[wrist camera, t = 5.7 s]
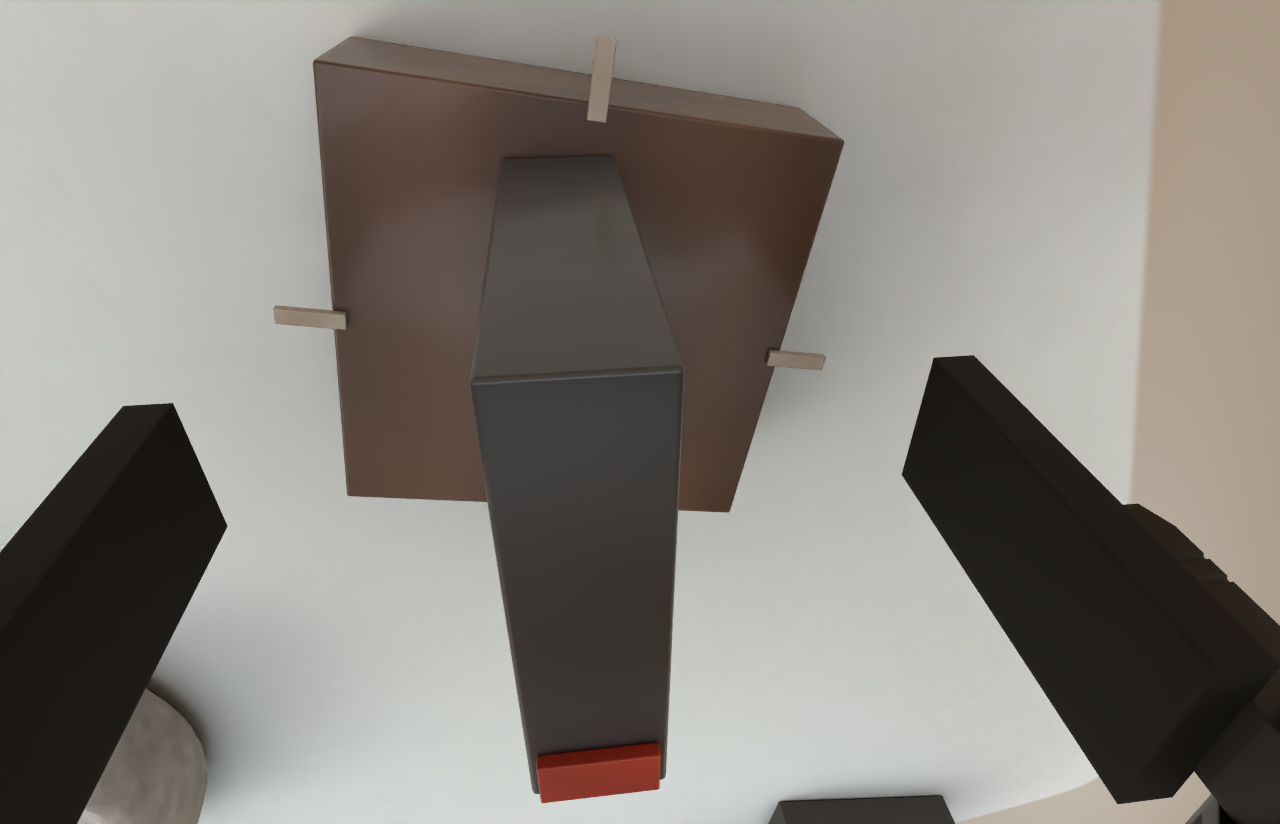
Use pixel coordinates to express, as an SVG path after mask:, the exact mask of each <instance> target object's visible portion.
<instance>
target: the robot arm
mask: <svg viewBox="0 0 1280 824" xmlns="http://www.w3.org/2000/svg"><path fill="white" fill-rule="evenodd" d="M902 476H903V477H904V479H905V480H906V482H907V483H908V485H909V487H910V488H911V490H912V491H913V493H914V494H915V496H916V497H917V499H918V500H919V502H920V503H921V505H922V506H923V508H924V509H925V511H926V512H927V514H928V516H929V517H930V519H931V520H932V522H933V523H934V525H935V526H936V528H937V529H938V531H939V532H940V534H941V535H942V537H943V538H944V540H945V542H946V543H947V545H948V546H949V548H950V549H951V551H952V552H953V554H954V555H955V557H956V558H957V560H958V561H959V563H960V564H961V566H962V567H963V569H964V571H965V572H966V574H967V575H968V577H969V578H970V580H971V581H972V583H973V584H974V586H975V587H976V589H977V590H978V592H979V593H980V595H981V596H982V598H983V600H984V601H985V603H986V604H987V606H988V607H989V609H990V610H991V612H992V613H993V615H994V616H995V618H996V619H997V621H998V622H999V624H1000V625H1001V627H1002V629H1003V630H1004V632H1005V633H1006V635H1007V636H1008V638H1009V639H1010V641H1011V642H1012V644H1013V645H1014V647H1015V648H1016V650H1017V651H1018V653H1019V654H1020V656H1021V658H1022V659H1023V661H1024V662H1025V664H1026V665H1027V667H1028V668H1029V670H1030V671H1031V673H1032V674H1033V676H1034V677H1035V679H1036V680H1037V682H1038V684H1039V685H1040V687H1041V688H1042V690H1043V691H1044V693H1045V694H1046V696H1047V697H1048V699H1049V700H1050V702H1051V703H1052V705H1053V706H1054V708H1055V709H1056V711H1057V713H1058V714H1059V716H1060V717H1061V719H1062V720H1063V722H1064V723H1065V725H1066V726H1067V728H1068V729H1069V731H1070V732H1071V734H1072V735H1073V737H1074V738H1075V740H1076V742H1077V743H1078V745H1079V746H1080V748H1081V749H1082V751H1083V752H1084V754H1085V755H1086V757H1087V758H1088V760H1089V761H1090V763H1091V764H1092V766H1093V767H1094V769H1095V771H1096V772H1097V774H1098V775H1099V777H1100V778H1101V780H1102V781H1103V783H1104V784H1105V786H1106V787H1107V789H1108V790H1109V792H1110V793H1111V795H1112V796H1113V798H1114V799H1115V801H1116V803H1117V804H1123V803H1131V802H1138V801H1146V800H1154V799H1161V798H1169V797H1173V796H1174V795H1175V793H1176V792H1177V791H1178V790H1179V788H1180V787H1181V786H1182V785H1183V784H1184V782H1185V781H1186V780H1187V779H1188V778H1189V776H1190V775H1191V774H1192V773H1193V772H1194V771H1195V773H1196V774H1197V775H1198V777H1199V778H1200V779H1201V781H1202V782H1203V783H1204V784H1205V786H1206V787H1207V788H1208V789H1209V791H1210V792H1211V793H1212V794H1211V795H1210V796H1209V798H1208V799H1207V800H1206V801H1205V802H1204V803H1203V804H1202V805H1201V807H1200V808H1199V809H1198V810H1197V811H1196V812H1195V813H1194V814H1193V815H1192V817H1191V818H1190V819H1189V820H1188V821H1187V822H1186V823H1185V824H1280V626H1279V625H1278V624H1277V623H1276V622H1275V621H1274V620H1273V619H1272V618H1271V617H1270V616H1269V615H1268V614H1267V613H1266V612H1265V611H1264V610H1263V609H1262V608H1260V607H1259V606H1258V605H1257V604H1256V603H1255V602H1254V601H1253V600H1252V599H1251V598H1250V597H1249V596H1248V595H1247V594H1246V593H1245V592H1244V591H1243V590H1242V589H1241V588H1239V587H1238V586H1237V585H1236V584H1235V583H1234V582H1229V581H1228V580H1227V575H1226V574H1225V573H1224V572H1223V571H1222V570H1220V568H1219V567H1218V566H1216V565H1215V564H1214V563H1213V562H1212V561H1211V560H1210V559H1205V558H1204V557H1203V554H1204V553H1203V552H1202V551H1201V550H1200V549H1199V548H1198V547H1197V546H1196V545H1194V544H1193V543H1192V542H1191V541H1190V540H1189V539H1188V538H1187V537H1186V536H1185V535H1184V534H1183V533H1182V532H1181V531H1180V530H1179V529H1178V528H1177V527H1176V526H1174V525H1172V524H1171V523H1169V522H1167V521H1166V520H1164V519H1163V518H1161V517H1159V516H1158V515H1156V514H1154V513H1153V512H1151V511H1149V510H1148V509H1146V508H1144V507H1142V506H1141V505H1139V504H1128V505H1122V504H1121V503H1120V502H1119V501H1118V500H1117V499H1116V498H1115V497H1114V496H1113V495H1112V494H1111V493H1110V492H1109V491H1108V490H1107V489H1106V488H1105V487H1104V486H1103V485H1102V484H1101V483H1100V482H1099V481H1098V480H1097V479H1096V478H1095V477H1094V476H1093V475H1092V474H1091V473H1090V472H1089V471H1088V470H1087V469H1086V468H1085V467H1084V466H1083V465H1082V464H1081V463H1080V462H1079V461H1078V460H1077V459H1076V458H1075V457H1074V456H1073V455H1072V454H1071V453H1070V452H1069V451H1068V450H1067V449H1066V448H1065V447H1064V446H1063V445H1062V444H1061V443H1060V442H1059V441H1058V440H1057V439H1056V438H1055V437H1054V436H1053V435H1052V434H1051V433H1050V432H1049V431H1048V429H1047V428H1046V427H1045V426H1044V425H1043V424H1042V423H1041V422H1040V421H1039V420H1038V419H1037V418H1036V417H1035V416H1034V415H1033V414H1032V413H1031V412H1030V411H1029V410H1028V409H1027V408H1026V407H1025V406H1024V405H1023V404H1022V403H1021V402H1020V401H1019V400H1018V399H1017V398H1016V397H1015V396H1014V395H1013V394H1012V393H1011V392H1010V391H1009V390H1008V389H1007V388H1006V387H1005V386H1004V385H1003V384H1002V383H1001V382H1000V381H999V380H998V379H997V378H996V377H995V376H994V375H993V374H992V373H991V372H990V371H989V370H988V369H987V368H986V367H985V366H984V365H983V364H982V363H981V362H980V361H979V360H978V359H977V358H976V357H975V356H974V355H972V356H955V357H938V358H934V359H933V363H932V366H931V370H930V374H929V377H928V381H927V385H926V388H925V392H924V396H923V399H922V403H921V406H920V410H919V414H918V417H917V421H916V425H915V428H914V432H913V436H912V439H911V443H910V446H909V450H908V454H907V457H906V461H905V465H904V468H903V472H902ZM226 528H227V524H226V522H225V519H224V517H223V515H222V513H221V510H220V508H219V506H218V504H217V501H216V499H215V497H214V495H213V492H212V490H211V488H210V486H209V483H208V481H207V479H206V477H205V474H204V472H203V470H202V468H201V465H200V463H199V461H198V459H197V456H196V454H195V452H194V450H193V447H192V445H191V443H190V441H189V438H188V436H187V434H186V432H185V429H184V427H183V425H182V422H181V420H180V418H179V416H178V413H177V411H176V409H175V407H174V404H173V403H168V404H151V405H134V406H123V407H122V408H121V409H120V411H119V412H118V413H117V414H116V415H115V416H114V418H113V419H112V420H111V421H110V422H109V424H108V425H107V426H106V427H105V428H104V430H103V431H102V432H101V433H100V434H99V435H98V437H97V438H96V439H95V440H94V441H93V443H92V444H91V445H90V446H89V447H88V449H87V450H86V451H85V452H84V453H83V454H82V456H81V457H80V458H79V459H78V460H77V462H76V463H75V464H74V465H73V466H72V468H71V469H70V470H69V471H68V472H67V473H66V475H65V476H64V477H63V478H62V479H61V481H60V482H59V483H58V484H57V485H56V487H55V488H54V489H53V490H52V491H51V492H50V494H49V495H48V496H47V497H46V498H45V500H44V501H43V502H42V503H41V504H40V506H39V507H38V508H37V509H36V510H35V512H34V513H33V514H32V515H31V516H30V517H29V519H28V520H27V521H26V522H25V523H24V525H23V526H22V527H21V528H20V529H19V531H18V532H17V533H16V534H15V535H14V536H13V538H12V539H11V540H10V541H9V542H8V544H7V545H6V546H5V547H4V548H3V550H2V551H1V552H0V824H77V823H78V821H79V819H80V817H81V815H82V813H83V811H84V809H85V807H86V805H87V803H88V802H89V800H90V798H91V796H92V794H93V792H94V790H95V788H96V786H97V784H98V782H99V780H100V778H101V776H102V774H103V772H104V770H105V768H106V766H107V764H108V762H109V760H110V758H111V756H112V754H113V752H114V750H115V748H116V746H117V744H118V742H119V740H120V738H121V736H122V734H123V732H124V730H125V728H126V726H127V724H128V722H129V720H130V718H131V716H132V714H133V712H134V710H135V708H136V706H137V704H138V703H139V701H140V699H141V697H142V695H143V693H144V691H145V689H146V687H147V685H148V683H149V681H150V679H151V677H152V675H153V673H154V671H155V669H156V667H157V665H158V663H159V661H160V659H161V657H162V655H163V653H164V651H165V649H166V647H167V645H168V643H169V641H170V639H171V637H172V635H173V633H174V631H175V629H176V627H177V625H178V623H179V621H180V619H181V617H182V615H183V613H184V611H185V609H186V607H187V605H188V603H189V602H190V600H191V598H192V596H193V594H194V592H195V590H196V588H197V586H198V584H199V582H200V580H201V578H202V576H203V574H204V572H205V570H206V568H207V566H208V564H209V562H210V560H211V558H212V556H213V554H214V552H215V550H216V548H217V546H218V544H219V542H220V540H221V538H222V536H223V534H224V532H225V530H226Z"/></svg>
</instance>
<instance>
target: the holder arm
mask: <svg viewBox="0 0 1280 824" xmlns="http://www.w3.org/2000/svg"><path fill="white" fill-rule="evenodd" d="M684 371H685V370H684V367H683V364H682V361H681V358H680V355H679V352H678V349H677V346H676V343H675V340H674V337H673V334H672V331H671V328H670V325H669V321H668V318H667V315H666V312H665V309H664V306H663V303H662V300H661V297H660V294H659V291H658V288H657V285H656V282H655V279H654V276H653V273H652V270H651V267H650V264H649V260H648V257H647V254H646V251H645V248H644V245H643V242H642V239H641V236H640V233H639V230H638V227H637V224H636V221H635V218H634V215H633V212H632V209H631V206H630V203H629V199H628V196H627V193H626V190H625V187H624V184H623V181H622V178H621V175H620V172H619V169H618V166H617V163H616V160H615V157H613V156H593V157H557V158H522V159H503V160H501V162H500V169H499V176H498V183H497V190H496V197H495V204H494V211H493V218H492V225H491V232H490V239H489V246H488V253H487V260H486V267H485V274H484V282H483V289H482V296H481V303H480V310H479V317H478V324H477V331H476V338H475V345H474V352H473V359H472V366H471V373H470V380H469V386H470V392H471V399H472V405H473V412H474V418H475V424H476V431H477V437H478V444H479V450H480V456H481V463H482V469H483V476H484V482H485V489H486V495H487V501H488V508H489V514H490V521H491V527H492V534H493V540H494V546H495V553H496V559H497V566H498V572H499V579H500V585H501V591H502V598H503V604H504V611H505V617H506V624H507V630H508V636H509V643H510V649H511V656H512V662H513V668H514V675H515V681H516V688H517V694H518V701H519V707H520V713H521V720H522V726H523V733H524V739H525V746H526V752H527V758H528V765H529V771H530V778H531V784H532V790H533V792H534V793H535V794H540V798H541V802H542V803H548V802H556V801H565V800H573V799H581V798H590V797H598V796H607V795H615V794H624V793H632V792H641V791H649V790H657V789H659V784H660V780H661V779H663V778H665V775H666V757H667V735H668V714H669V693H670V671H671V650H672V628H673V607H674V585H675V564H676V543H677V521H678V500H679V478H680V457H681V436H682V414H683V393H684Z"/></svg>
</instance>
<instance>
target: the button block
mask: <svg viewBox="0 0 1280 824" xmlns="http://www.w3.org/2000/svg"><path fill="white" fill-rule="evenodd" d="M769 824H955V822H954V820H953V818H952V816H951V814H950V811H949V809H948V807H947V805H946V803H945V801H944V799H943V797H942V796H927V797H901V798H874V799H848V800H822V801H795V802H780V803H779V805H778V807H777V809H776V811H775V813H774V815H773V817H772V819H771V821H770V823H769Z"/></svg>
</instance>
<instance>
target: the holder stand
mask: <svg viewBox="0 0 1280 824" xmlns="http://www.w3.org/2000/svg"><path fill="white" fill-rule="evenodd" d="M616 43H617V41H616V39H611V38H605V37H599V36H596V42H595V50H594V59H593V67H592V75H589V74H583V73H576V72H570V71H564V70H558V69H551V68H545V67H539V66H532V65H526V64H520V63H513V62H507V61H501V60H495V59H488V58H482V57H476V56H469V55H463V54H457V53H451V52H444V51H438V50H432V49H425V48H419V47H413V46H406V45H400V44H394V43H388V42H381V41H375V40H369V39H362V38H356V37H349V38H347V39H346V40H344V41H343V42H341V43H340V44H338V45H337V46H335V47H334V48H332V49H330V50H329V51H327V52H326V53H324V54H323V55H321V56H320V57H318V58H317V59H315V60H314V62H313V69H314V82H315V95H316V107H317V120H318V132H319V145H320V158H321V170H322V183H323V195H324V208H325V221H326V233H327V246H328V258H329V271H330V284H331V296H332V309H333V311H331V310H320V309H309V308H298V307H287V306H275V307H274V309H273V310H274V318H275V324H284V325H295V326H307V327H319V328H331V329H334V334H335V347H336V359H337V372H338V384H339V397H340V410H341V422H342V435H343V447H344V460H345V473H346V485H347V494H348V496H360V497H383V498H407V499H430V500H453V501H476V502H488V501H487V495H486V489H485V482H484V476H483V469H482V463H481V456H480V450H479V444H478V437H477V431H476V424H475V418H474V412H473V405H472V399H471V392H470V386H469V380H470V373H471V366H472V359H473V352H474V345H475V338H476V331H477V324H478V317H479V310H480V303H481V296H482V289H483V282H484V274H485V267H486V260H487V253H488V246H489V239H490V232H491V225H492V218H493V211H494V204H495V197H496V190H497V183H498V176H499V169H500V162H501V160H503V159H522V158H557V157H593V156H613V157H615V160H616V163H617V166H618V169H619V172H620V175H621V178H622V181H623V184H624V187H625V190H626V193H627V196H628V199H629V203H630V206H631V209H632V212H633V215H634V218H635V221H636V224H637V227H638V230H639V233H640V236H641V239H642V242H643V245H644V248H645V251H646V254H647V257H648V260H649V264H650V267H651V270H652V273H653V276H654V279H655V282H656V285H657V288H658V291H659V294H660V297H661V300H662V303H663V306H664V309H665V312H666V315H667V318H668V321H669V325H670V328H671V331H672V334H673V337H674V340H675V343H676V346H677V349H678V352H679V355H680V358H681V361H682V364H683V367H684V370H685V371H684V393H683V414H682V436H681V457H680V478H679V500H678V510H684V511H707V512H729V511H730V509H731V505H732V502H733V499H734V496H735V493H736V489H737V486H738V483H739V480H740V476H741V473H742V470H743V467H744V464H745V460H746V457H747V454H748V451H749V448H750V444H751V441H752V438H753V435H754V431H755V428H756V425H757V422H758V419H759V415H760V412H761V409H762V406H763V402H764V399H765V396H766V393H767V390H768V386H769V383H770V380H771V377H772V373H773V370H774V367H775V366H778V367H790V368H801V369H813V370H822V368H823V365H824V362H825V359H826V357H825V355H823V354H812V353H801V352H790V351H780V348H781V344H782V341H783V338H784V335H785V332H786V328H787V325H788V322H789V319H790V315H791V312H792V309H793V306H794V303H795V299H796V296H797V293H798V290H799V286H800V283H801V280H802V277H803V274H804V270H805V267H806V264H807V261H808V257H809V254H810V251H811V248H812V245H813V241H814V238H815V235H816V232H817V229H818V225H819V222H820V219H821V216H822V212H823V209H824V206H825V203H826V200H827V196H828V193H829V190H830V187H831V183H832V180H833V177H834V174H835V171H836V167H837V164H838V161H839V158H840V154H841V151H842V148H843V145H844V140H842V139H841V138H840V137H838V136H837V135H835V134H834V133H833V132H831V131H830V130H829V129H827V128H826V127H824V126H823V125H822V124H820V123H819V122H818V121H816V120H815V119H814V118H812V117H811V116H809V115H808V114H807V113H805V112H804V111H803V110H801V109H800V108H797V107H790V106H784V105H778V104H772V103H765V102H759V101H753V100H746V99H740V98H734V97H727V96H721V95H715V94H709V93H702V92H696V91H690V90H683V89H677V88H671V87H665V86H658V85H652V84H646V83H639V82H633V81H627V80H620V79H614V78H612V73H613V66H614V58H615V50H616Z"/></svg>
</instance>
